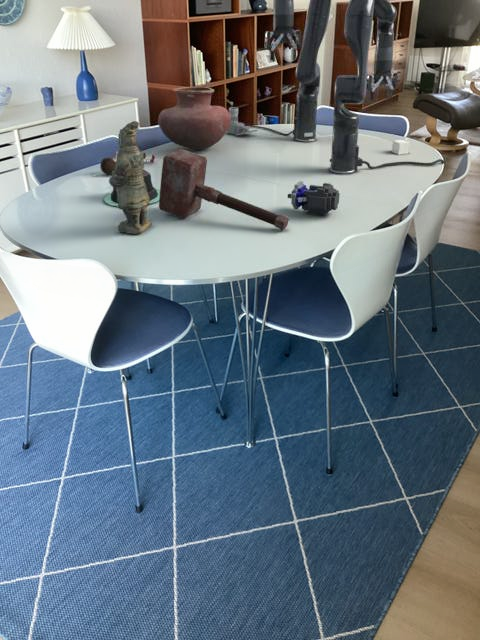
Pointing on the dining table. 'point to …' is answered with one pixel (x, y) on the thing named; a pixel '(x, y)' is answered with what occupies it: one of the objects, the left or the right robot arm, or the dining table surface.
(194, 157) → the sledgehammer
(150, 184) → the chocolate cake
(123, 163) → the statue
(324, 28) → the left robot arm
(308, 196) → the toy
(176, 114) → the clay pot
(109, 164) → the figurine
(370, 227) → the dining table surface
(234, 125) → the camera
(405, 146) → the block
